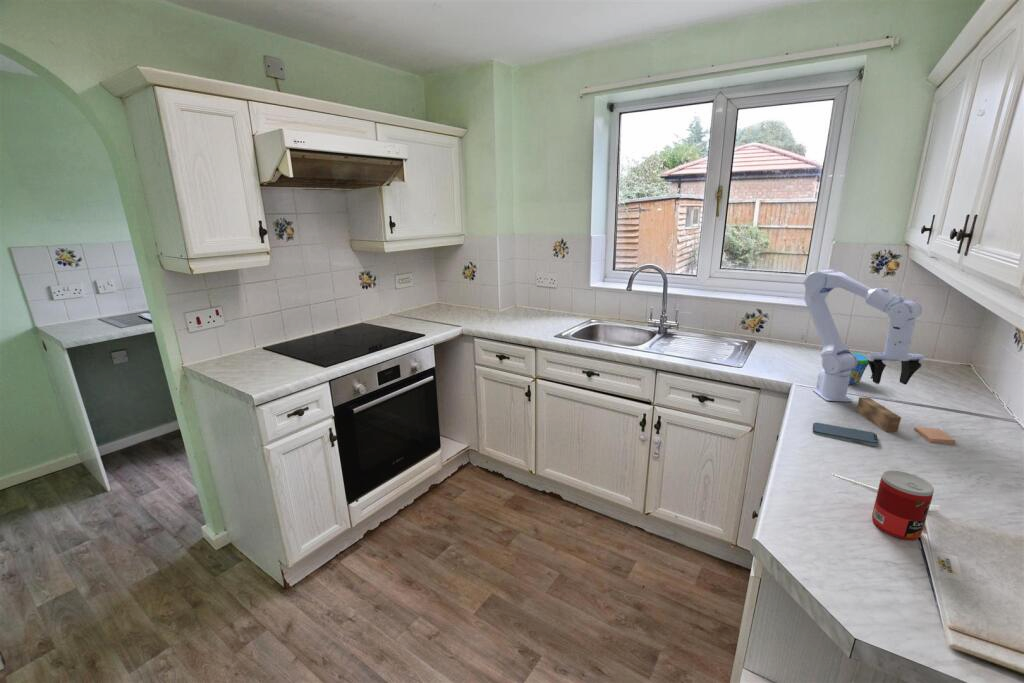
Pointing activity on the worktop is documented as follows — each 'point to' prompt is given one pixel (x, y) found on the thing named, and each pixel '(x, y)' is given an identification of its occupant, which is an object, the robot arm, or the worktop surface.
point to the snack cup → (858, 368)
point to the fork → (877, 490)
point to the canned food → (902, 504)
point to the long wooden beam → (878, 414)
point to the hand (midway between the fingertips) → (889, 383)
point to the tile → (934, 435)
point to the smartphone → (846, 434)
